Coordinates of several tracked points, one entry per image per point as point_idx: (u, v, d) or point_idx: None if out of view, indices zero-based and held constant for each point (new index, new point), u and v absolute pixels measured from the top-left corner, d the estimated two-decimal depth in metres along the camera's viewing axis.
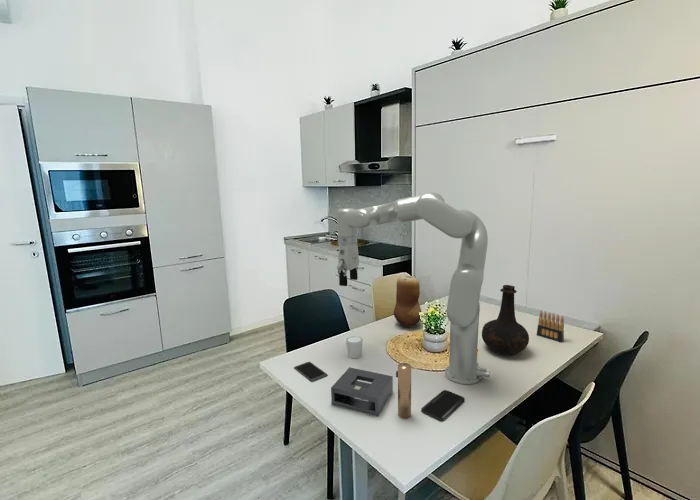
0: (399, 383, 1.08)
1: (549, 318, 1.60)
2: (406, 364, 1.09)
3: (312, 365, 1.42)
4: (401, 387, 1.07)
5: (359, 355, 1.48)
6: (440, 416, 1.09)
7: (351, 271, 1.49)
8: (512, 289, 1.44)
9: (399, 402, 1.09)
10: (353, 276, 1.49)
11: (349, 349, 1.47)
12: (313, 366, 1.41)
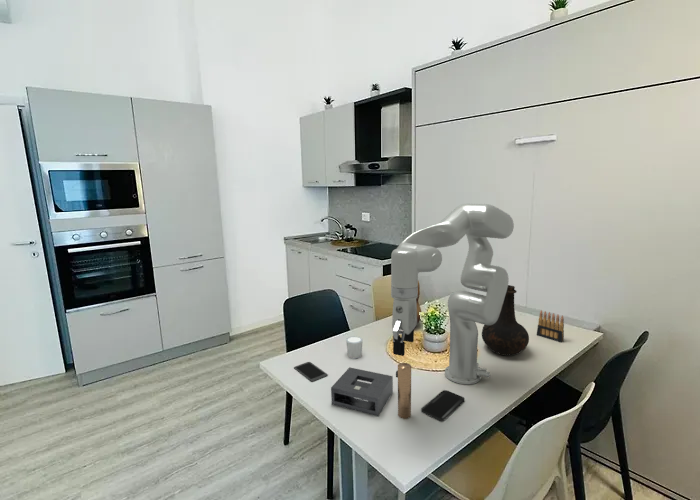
0: (399, 383, 1.08)
1: (549, 318, 1.60)
2: (406, 364, 1.09)
3: (312, 365, 1.42)
4: (401, 387, 1.07)
5: (359, 355, 1.48)
6: (440, 416, 1.09)
7: None
8: (512, 289, 1.44)
9: (399, 402, 1.09)
10: (408, 337, 1.10)
11: (349, 349, 1.47)
12: (313, 366, 1.41)
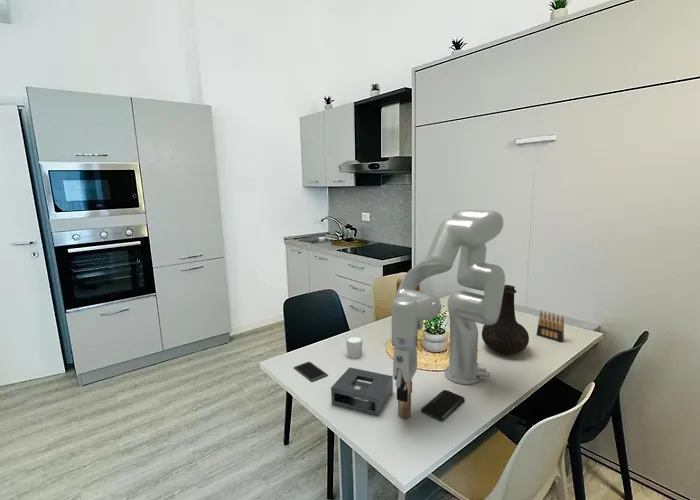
0: None
1: (549, 318, 1.60)
2: None
3: (312, 365, 1.42)
4: None
5: (359, 355, 1.48)
6: (440, 416, 1.09)
7: None
8: (512, 289, 1.44)
9: (399, 402, 1.09)
10: None
11: (349, 349, 1.47)
12: (313, 366, 1.41)
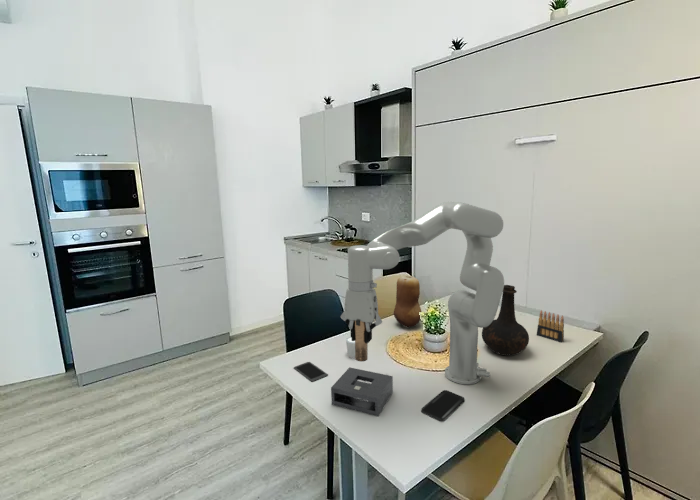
0: (365, 327, 1.14)
1: (549, 318, 1.60)
2: None
3: (312, 365, 1.42)
4: None
5: None
6: (440, 416, 1.09)
7: (354, 330, 1.16)
8: (512, 289, 1.44)
9: (364, 346, 1.15)
10: None
11: (349, 349, 1.47)
12: (313, 366, 1.41)
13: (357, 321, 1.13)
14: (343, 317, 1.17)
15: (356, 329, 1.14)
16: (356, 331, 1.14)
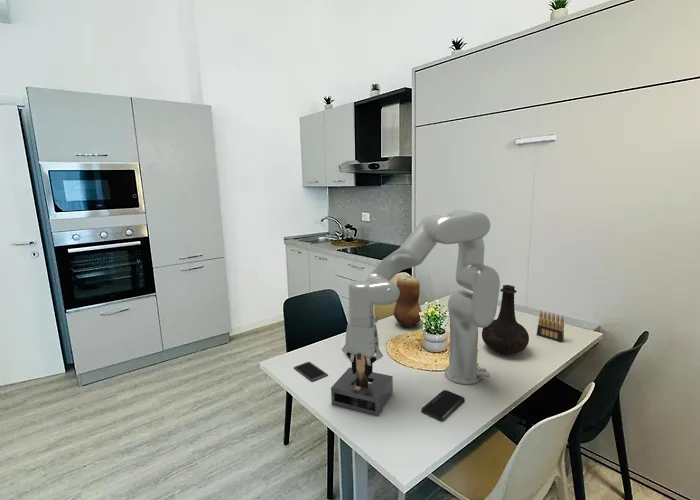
0: (365, 361, 1.16)
1: (549, 318, 1.60)
2: None
3: (312, 365, 1.42)
4: None
5: None
6: (440, 416, 1.09)
7: (355, 363, 1.18)
8: (512, 289, 1.44)
9: (365, 379, 1.17)
10: None
11: None
12: (313, 366, 1.41)
13: (358, 355, 1.15)
14: (344, 350, 1.19)
15: (357, 363, 1.16)
16: (357, 364, 1.16)
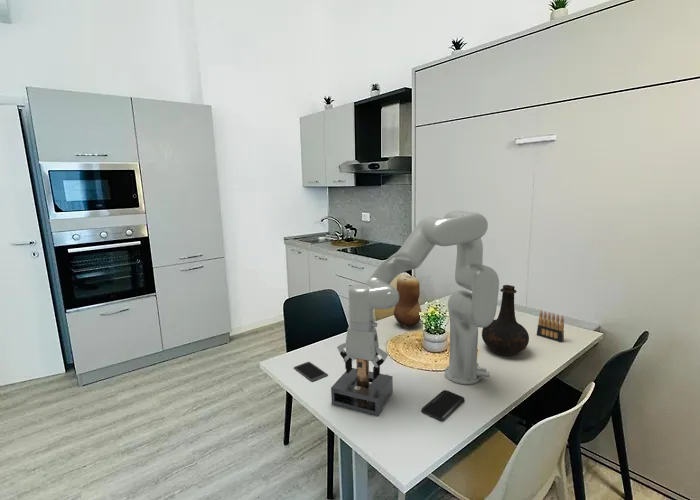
0: (366, 369, 1.16)
1: (549, 318, 1.60)
2: None
3: (312, 365, 1.42)
4: (368, 371, 1.17)
5: None
6: (440, 416, 1.09)
7: (349, 362, 1.19)
8: (512, 289, 1.44)
9: (366, 387, 1.17)
10: (350, 367, 1.20)
11: None
12: (313, 366, 1.41)
13: (359, 363, 1.15)
14: (340, 348, 1.19)
15: (358, 370, 1.17)
16: (358, 372, 1.17)
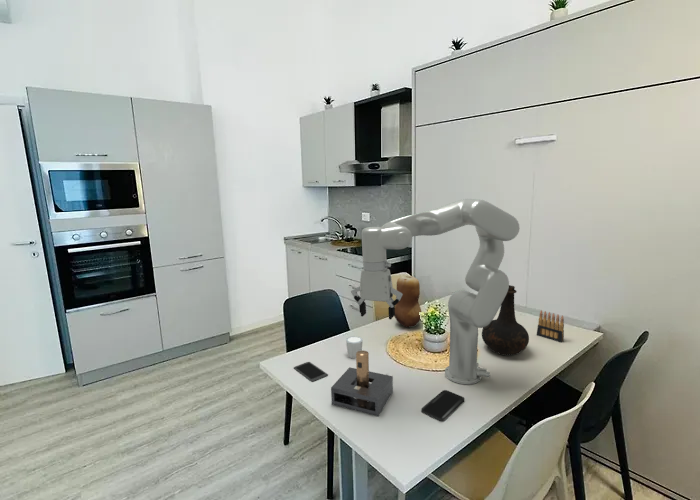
0: (366, 369, 1.16)
1: (549, 318, 1.60)
2: (359, 352, 1.18)
3: (312, 365, 1.42)
4: (367, 371, 1.17)
5: None
6: (440, 416, 1.09)
7: (363, 306, 1.20)
8: (512, 289, 1.44)
9: (366, 387, 1.17)
10: (364, 311, 1.21)
11: (349, 349, 1.47)
12: (313, 366, 1.41)
13: (359, 363, 1.15)
14: (353, 292, 1.20)
15: (358, 371, 1.17)
16: (357, 372, 1.17)
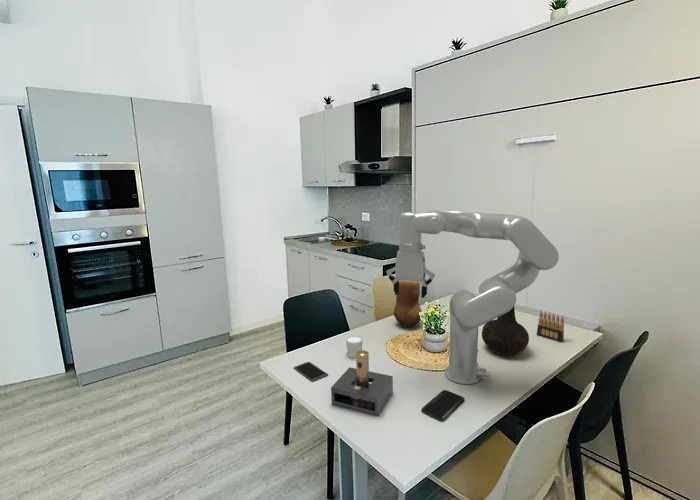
0: (366, 369, 1.16)
1: (549, 318, 1.60)
2: (359, 352, 1.18)
3: (312, 365, 1.42)
4: (367, 371, 1.17)
5: None
6: (440, 416, 1.09)
7: (397, 285, 1.30)
8: None
9: (366, 387, 1.17)
10: (398, 290, 1.31)
11: (349, 349, 1.47)
12: (313, 366, 1.41)
13: (359, 363, 1.15)
14: (388, 272, 1.30)
15: (358, 371, 1.17)
16: (357, 372, 1.17)
